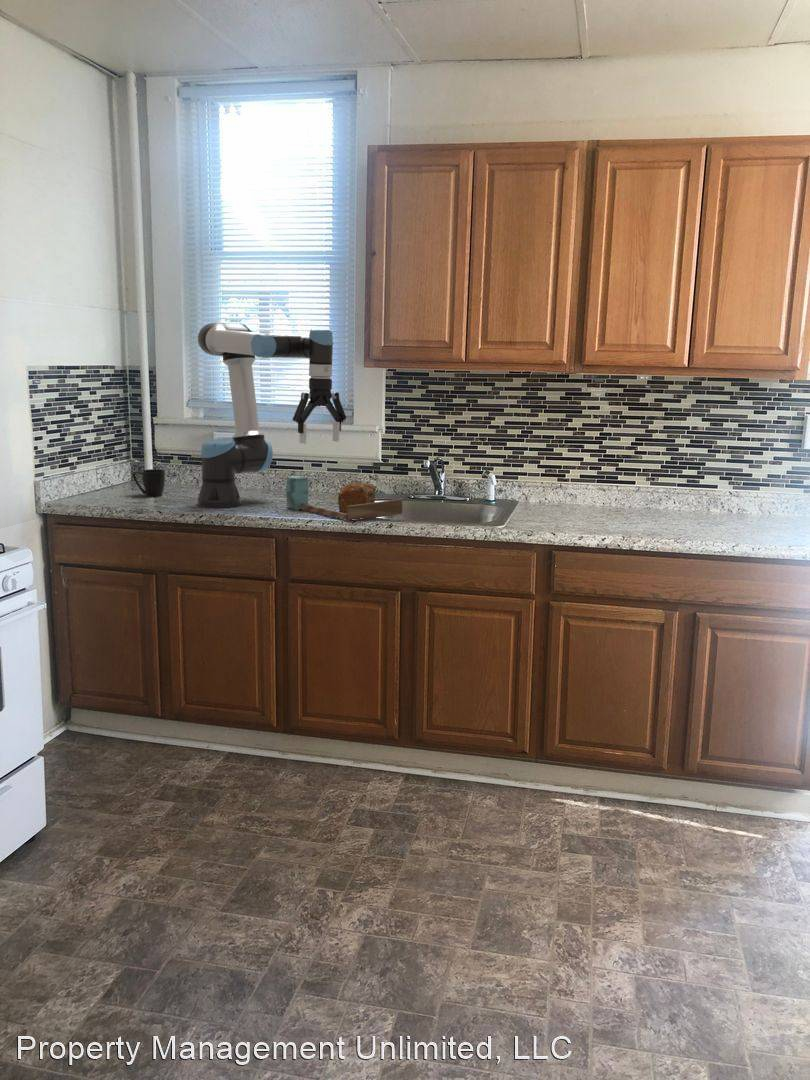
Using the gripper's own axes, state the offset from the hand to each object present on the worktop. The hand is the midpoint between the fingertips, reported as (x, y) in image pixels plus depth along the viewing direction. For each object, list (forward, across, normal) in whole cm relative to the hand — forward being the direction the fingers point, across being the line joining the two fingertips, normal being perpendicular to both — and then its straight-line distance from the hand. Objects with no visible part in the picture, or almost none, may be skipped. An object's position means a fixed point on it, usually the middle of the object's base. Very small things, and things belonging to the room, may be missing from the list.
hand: (319, 442), depth 305 cm
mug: (+27, -26, +72) cm, 81 cm away
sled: (+25, +13, +3) cm, 29 cm away
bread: (+26, +18, +2) cm, 32 cm away
